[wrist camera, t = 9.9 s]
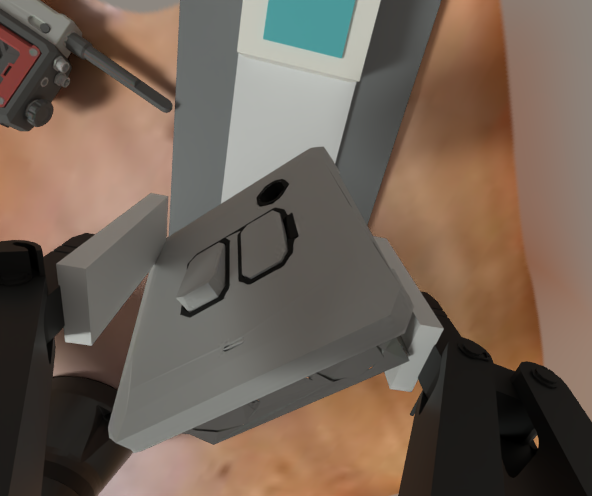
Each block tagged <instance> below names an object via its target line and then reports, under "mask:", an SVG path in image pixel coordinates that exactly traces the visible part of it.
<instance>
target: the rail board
mask: <svg viewBox="0 0 592 496" xmlns="http://www.w3.org/2000/svg"><path fill="white" fill-rule="evenodd" d="M440 3H441V0H180V13H179V34H178V56H177V77H176V98H175V119H174V140H173V161H172V182H171V203H170V224H169V236H170V235H172V234H174V233H175V232H177V231H178V230H180V229H182V228H183V227H185V226H186V225H188V224H190V223H191V222H193V221H194V220H196V219H198V218H199V217H201V216H202V215H204V214H206V213H207V212H209V211H210V210H212V209H214V208H215V207H217V206H218V205H220V204H222V203H223V202H225V201H226V200H228V199H230V198H231V197H233V196H234V195H236V194H237V193H239V192H241V191H242V190H244V189H245V188H247V187H249V186H250V185H252V184H253V183H255V182H257V181H258V180H260V179H261V178H263V177H265V176H266V175H268V174H269V173H271V172H273V171H274V170H276V169H277V168H279V167H281V166H282V165H284V164H285V163H287V162H289V161H290V160H292V159H293V158H295V157H297V156H298V155H300V154H301V153H303V152H305V151H306V150H308V149H310V148H313V147H323V146H324V148H325V149H326V151H327V152H328V154H329V155H330V157H331V158H332V159H333V161H334V163H335V165H336V166H337V168H338V170H339V172H340V174H339V175H340V177H341V179H342V181H343V183H344V184H345V186H346V188H347V190H348V192H349V194H350V195H351V197H352V199H353V201H354V203H355V204H356V206H357V208H358V210H359V212H360V214H361V215H362V217H363V219H364V221H365V223H366V225H368V222H369V219H370V216H371V213H372V209H373V206H374V203H375V200H376V197H377V194H378V191H379V188H380V185H381V182H382V179H383V176H384V173H385V170H386V167H387V164H388V161H389V158H390V155H391V152H392V149H393V146H394V143H395V140H396V137H397V133H398V130H399V127H400V124H401V121H402V118H403V115H404V112H405V109H406V106H407V103H408V100H409V97H410V94H411V91H412V88H413V85H414V82H415V79H416V76H417V73H418V70H419V67H420V64H421V61H422V57H423V54H424V51H425V48H426V45H427V42H428V39H429V36H430V33H431V30H432V27H433V24H434V21H435V18H436V15H437V12H438V9H439V6H440Z"/></svg>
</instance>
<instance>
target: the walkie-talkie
mask: <svg viewBox="0 0 592 496" xmlns="http://www.w3.org/2000/svg"><path fill="white" fill-rule="evenodd" d="M71 52H72V53H74V54H75V55H77V56H78V57H80V58H81V59H82V60H88V61H89V62H91V63H92V64H94V65H95V66H97V67H98V68H100V69H101V70H103V71H104V72H105V73H107V74H108V75H110V76H111V77H113V78H114V79H116V80H117V81H119V82H120V83H122V84H123V85H124V86H126V87H127V88H129V89H130V90H132V91H133V92H135V93H136V94H138V95H139V96H141V97H142V98H143V99H145V100H146V101H148V102H149V103H151V104H152V105H154V106H155V107H157V108H158V109H160V110H161V111H162V112H165V113H167V112H170V111H171V110H172V103H171V101H170V100H168V99H167V98H165V97H164V96H162V95H161V94H160V93H158V92H157V91H155V90H154V89H152V88H151V87H150V86H148V85H147V84H145V83H144V82H142V81H141V80H140V79H138V78H137V77H135V76H134V75H132V74H131V73H129V72H128V71H127V70H125V69H124V68H122V67H121V66H119V65H118V64H117V63H115V62H114V61H112V60H111V59H109V58H108V57H106V56H105V55H104V54H102V53H101V52H99V51H98V50H96V49H95V48H93V46H92V44H91V43H90V42H88V41H87V40H85V39H84V38H82V32H81V31H80V29H79V28H78V27H77V25H76V24H75V22H74V21H72V20H71V19H70V18H68V17H67V16H66V15H64V14H59V13H58V12H56V11H55V10H53V9H52V8H50V7H49V6H48V5H46V4H45V3H43V2H42V1H40V0H0V124H1V125H3V126H5V127H8V128H9V126H10V127H12V128H14V129H17V130H19V131H30V130H31V129H32V128H33V127H34V126H35V127H40V126H43V125H44V124H46V123H47V122H48V121H49V120H50V119H51V117H52V114H53V106H52V104H51V102H52V100H53V99H54V97H55V96H56V94H57V93H58V91H59V90H60V88H61V87H67V86H68V85H69V83H70V78H69V77H68V76H69V74H70V71H71V69H72V66H71V64H70V62H69V60H68V59H67V58H68V56H69V55H70V53H71Z"/></svg>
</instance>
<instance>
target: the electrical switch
mask: <svg viewBox="0 0 592 496" xmlns="http://www.w3.org/2000/svg"><path fill="white" fill-rule="evenodd" d="M339 174H340V172H339V170H338V168H337V166H336V165H335V163H334V161H333V159H332V158H331V157H330V155H329V154H328V152H327V151H326V149H325V148H324V146H323V147H313V148H310V149H308V150H306V151H305V152H303V153H301V154H300V155H298V156H297V157H295V158H293V159H292V160H290V161H289V162H287V163H285V164H284V165H282V166H281V167H279V168H277V169H276V170H274V171H273V172H271V173H269V174H268V175H266V176H265V177H263V178H261V179H260V180H258V181H257V182H255V183H253V184H252V185H250V186H249V187H247V188H245V189H244V190H242V191H241V192H239V193H237V194H236V195H234V196H233V197H231V198H230V199H228V200H226V201H225V202H223V203H222V204H220V205H218V206H217V207H215V208H214V209H212V210H210V211H209V212H207V213H206V214H204V215H202V216H201V217H199V218H198V219H196V220H194V221H193V222H191V223H190V224H188V225H186V226H185V227H183V228H182V229H180V230H178V231H177V232H175V233H174V234H172V235H170V236H169V237H167V238H166V242H165V244H164V246H163V248H162V250H161V252H160V254H159V256H158V258H157V261H156V263H155V265H154V266H153V267H152V268H151V270H150V271H149V275H148V279H147V282H146V286H145V290H144V294H143V298H142V301H141V305H140V309H139V313H138V316H137V320H136V324H135V328H134V331H133V335H132V339H131V343H130V347H129V350H128V354H127V358H126V362H125V365H124V369H123V373H122V377H121V380H120V384H119V388H118V392H117V395H116V399H115V403H114V407H113V411H112V414H111V418H110V422H109V426H108V432H109V438H110V439H112V440H113V441H114V442H115V443H117V444H120V445H122V446H124V447H126V448H128V449H131V450H132V451H133V453H136V452H140V451H143V450H145V449H147V448H150V447H152V446H154V445H156V444H158V443H161V442H163V441H165V440H167V439H170V438H172V437H174V436H176V435H178V434H181V433H183V434H190V435H193V436H195V437H197V438H199V439H202V440H204V441H206V442H208V443H211V444H213V445H214V444H216V443H219V442H221V441H223V440H226V439H228V438H230V437H233V436H235V435H237V434H240V433H242V432H244V431H247V430H249V429H252V428H254V427H256V426H259V425H261V424H263V423H266V422H268V421H270V420H273V419H275V418H277V417H280V416H282V415H284V414H287V413H289V412H291V411H294V410H296V409H298V408H301V407H303V406H305V405H308V404H310V403H312V402H315V401H317V400H319V399H322V398H324V397H326V396H329V395H331V394H333V393H336V392H338V391H340V390H343V389H345V388H347V387H350V386H352V385H354V384H357V383H359V382H361V381H364V380H366V379H368V378H371V377H373V376H376V375H378V374H380V373H383V372H385V371H387V370H390V369H392V368H394V367H397V366H399V365H401V364H404V363H406V362H408V361H410V360H409V358H408V356H407V355H406V353H405V352H404V350H403V349H402V347H403V348H404V349H405V350H406V352H407V353H408V354H409V352H408V350H407V348H406V346H405V343H404V341H403V339H402V337H401V335H402V334H405V332H406V329H407V326H408V323H409V320H410V318H411V315H412V312H413V308H414V305H413V303H412V301H411V299H410V297H409V295H408V294H407V292H406V290H405V288H404V287H403V285H402V283H401V281H400V279H399V277H398V275H397V273H396V272H395V270H394V269H391V268H390V266H389V265H388V263H387V261H386V259H385V257H384V256H383V254H382V252H381V250H380V248H379V246H378V245H377V243H376V241H375V239H374V237H373V235H372V234H371V232H370V230H369V228H368V226H367V225H366V223H365V221H364V219H363V217H362V215H361V214H360V212H359V210H358V208H357V206H356V204H355V203H354V201H353V199H352V197H351V195H350V194H349V192H348V190H347V188H346V186H345V184H344V183H343V181H342V179H341V177H340V175H339ZM399 343H400V344H401V345H400V344H399ZM401 346H402V347H401ZM372 366H373V367H372ZM370 367H372V368H371V369H369V368H370ZM305 377H309V379H308V378H305ZM256 399H258V400H259V401H258V400H256ZM243 424H244V425H243Z"/></svg>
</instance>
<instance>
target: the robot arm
mask: <svg viewBox="0 0 592 496" xmlns="http://www.w3.org/2000/svg"><path fill="white" fill-rule="evenodd" d="M167 213H168V196H164V195H159V194H154V193H150V194H149V195H148V196H146V197H145V198H144V199H142V200H141V201H140V202H138V203H137V204H135V205H134V206H133V207H131V208H130V209H129V210H127V211H126V212H125V213H123V214H122V215H121V216H119V217H118V218H117V219H115V220H114V221H113V222H111V223H110V224H109V225H107V226H106V227H105V228H103V229H102V230H101V231H99V232H98V233H97V234H89V233H85V234H82V235H79V236H76V237H72V238H71V239H69V240H68V241H66V242H65V243H63V244H62V246H59V247H57V248H56V249H55V250H54V252H53V251H52V252H50V253H49V254H47V255H46V256H44V257H43V253H42V248H41V246H40V245H38V244H36V243H34V242H30V241H24V240H10V241H1V242H0V496H98V494H99V493H100V492H101V491H102V490H103V488H104V487H105V486H106V485H107V483H108V482H109V481H110V480H111V479H112V477H113V476H114V475H115V474H116V473H117V471H118V470H119V469H120V468H121V467H122V465H123V464H124V463H125V462H126V460H127V459H128V458H129V457H130V456H131V454H132V453H133V451H132V450H131V449H128V448H126V447H124V446H122V445H120V444H117V443H115V442H114V441H113V440H112V439H110V438H109V432H108V426H109V422H110V418H111V414H112V411H113V407H114V403H115V399H116V395H117V392H118V391H117V390H115V389H113V388H112V387H109V386H107V385H105V384H102V383H100V382H97V381H93V380H90V379H85V378H78V377H56V378H53V368H54V358H55V348H56V347H55V340H54V337H55V336H56V334H57V333H58V332H59V331H60V330H61V329H62V328H63V327H64V335H65V342H69V343H76V344H83V345H90V346H92V345H93V343H94V342H95V341H96V339H97V338H98V337H99V336H100V334H101V333H102V332H103V330H104V329H105V328H106V327H107V325H108V324H109V323H110V321H111V320H112V319H113V318H114V316H115V315H116V314H117V312H118V311H119V310H120V308H121V307H122V306H123V305H124V303H125V302H126V301H127V299H128V298H129V297H130V296H131V294H132V293H133V292H134V290H135V289H136V288H137V287H138V285H139V284H140V283H141V281H142V280H143V279H144V277H145V276H146V275H147V274H148V272H149V271H150V270H151V268H152V267H153V266H154V265H155V263H156V261H157V258H158V256H159V254H160V252H161V250H162V248H163V246H164V244H165V242H166V236H167ZM373 237H374V239H375V241H376V243H377V245H378V246H379V248H380V250H381V252H382V254H383V256H384V257H385V259H386V261H387V263H388V265H389V266H390V268H391V269H394V270H395V272H396V273H397V275H398V277H399V279H400V281H401V283H402V285H403V287H404V288H405V290H406V292H407V294H408V295H409V297H410V299H411V301H412V303H413V305H414V308H413V312H412V315H411V318H410V320H409V323H408V326H407V329H406V332H405V334H402V335H401V337H402V339H403V341H404V343H405V346H406V348H407V350H408V352H409V354H408V353H407V352H406V350H405V349H404V348H403V347H402V346H401V347H402V349H403V350H404V352H405V353H406V355H407V356H408V358H409V360H410V361H408V362H406V363H404V364H401V365H399V366H397V367H394V368H392V369H390V370H387V371H385V375H386V378H387V381H388V384H389V388H390V389H394V390H401V391H408V392H412V390H413V388H414V386H415V384H416V382H417V380H418V379H419V382H420V384H421V386H422V389H423V390H422V392H421V394H420V396H419V398H418V400H417V402H416V404H415V406H414V407H413V409H412V411H411V413H410V415H411V416H414V414H415V416H414V421H413V426H412V431H411V436H410V441H409V446H408V450H407V455H406V460H405V465H404V470H403V475H402V480H401V485H400V490H399V495H398V496H592V422H591V420H590V419H589V417H588V416H587V414H586V413H585V411H584V410H583V409H582V407H581V406H580V404H579V402H578V401H577V399H576V398H575V397H574V395H573V394H572V392H571V391H570V389H569V388H568V387H567V385H566V384H565V383H564V382H563V380H562V379H561V378H559V377H558V376H557V375H555V374H554V372H553V371H551V370H548V369H547V368H546V367H544V366H541V365H538V364H536V363H532V362H521V364H520V365H519V367H518V368H517V370H516V371H512V370H510V369H507V368H504V367H502V366H499V365H496V364H494V363H493V360H492V358H491V356H490V355H489V353H488V352H487V351H486V350H485V349H484V348H482V347H481V346H480V345H478V344H477V343H475V342H473V341H471V340H469V339H466V338H463V337H461V335H460V334H459V333H458V331H457V330H456V328H455V327H454V325H453V324H452V322H451V321H450V319H449V318H447V315H446V314H445V312H444V311H442V310H443V309H442V308H441V306H440V305H439V303H438V302H437V301H436V300H435V299H434V298H433V297H432V296H430V295H429V294H428V293H426V292H420V290H419V289H418V287H417V286H416V284H415V282H414V281H413V279H412V278H411V276H410V275H409V273H408V271H407V270H406V268H405V267H404V265H403V264H402V262H401V261H400V259H399V257H398V256H397V254H396V253H395V251H394V250H393V248H392V246H391V245H390V243H389V242H388V240H387V239H386V238H381V237H376V236H373ZM399 344H400V343H399ZM400 345H401V344H400ZM537 435H538V438H539V447H538V448H537V447H536V445H535V442H534V440H533V439H534V438H535V437H536V436H537Z"/></svg>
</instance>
